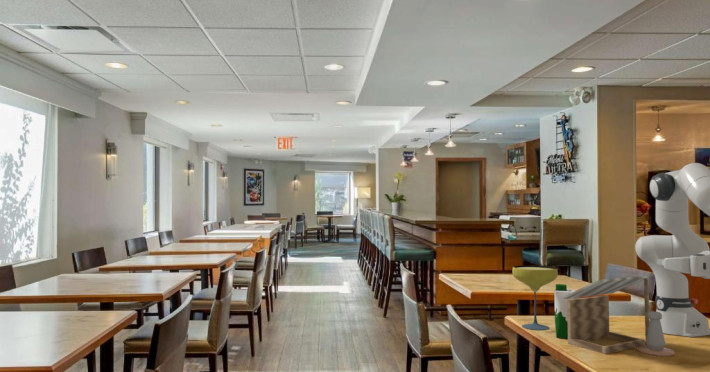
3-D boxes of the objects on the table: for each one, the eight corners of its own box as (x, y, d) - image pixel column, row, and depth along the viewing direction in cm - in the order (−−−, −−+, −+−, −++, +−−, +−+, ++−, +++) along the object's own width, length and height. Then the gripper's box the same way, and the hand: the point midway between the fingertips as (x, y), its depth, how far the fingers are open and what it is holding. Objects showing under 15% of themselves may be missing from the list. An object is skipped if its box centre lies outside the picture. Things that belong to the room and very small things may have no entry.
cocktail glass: (509, 322, 223) (508, 265, 225) (551, 323, 222) (550, 265, 223) (518, 331, 205) (517, 269, 207) (564, 332, 204) (563, 270, 205)
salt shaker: (668, 352, 173) (667, 313, 173) (650, 351, 174) (649, 313, 174) (661, 347, 178) (660, 310, 179) (643, 347, 180) (642, 309, 180)
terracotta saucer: (657, 347, 183) (657, 344, 183) (682, 355, 172) (682, 353, 172) (630, 348, 181) (630, 346, 181) (653, 357, 170) (653, 354, 170)
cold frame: (611, 335, 199) (610, 270, 200) (651, 345, 185) (649, 275, 186) (562, 344, 186) (561, 274, 187) (601, 355, 172) (599, 280, 173)
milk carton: (557, 333, 203) (556, 283, 204) (582, 336, 198) (581, 284, 199) (553, 338, 195) (552, 285, 196) (578, 341, 190) (577, 287, 192)
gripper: (728, 253, 165) (683, 250, 177) (692, 256, 155) (648, 252, 167) (728, 273, 164) (684, 268, 177) (693, 276, 155) (648, 272, 167)
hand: (666, 261), depth 172 cm, fingers open, 8 cm apart
